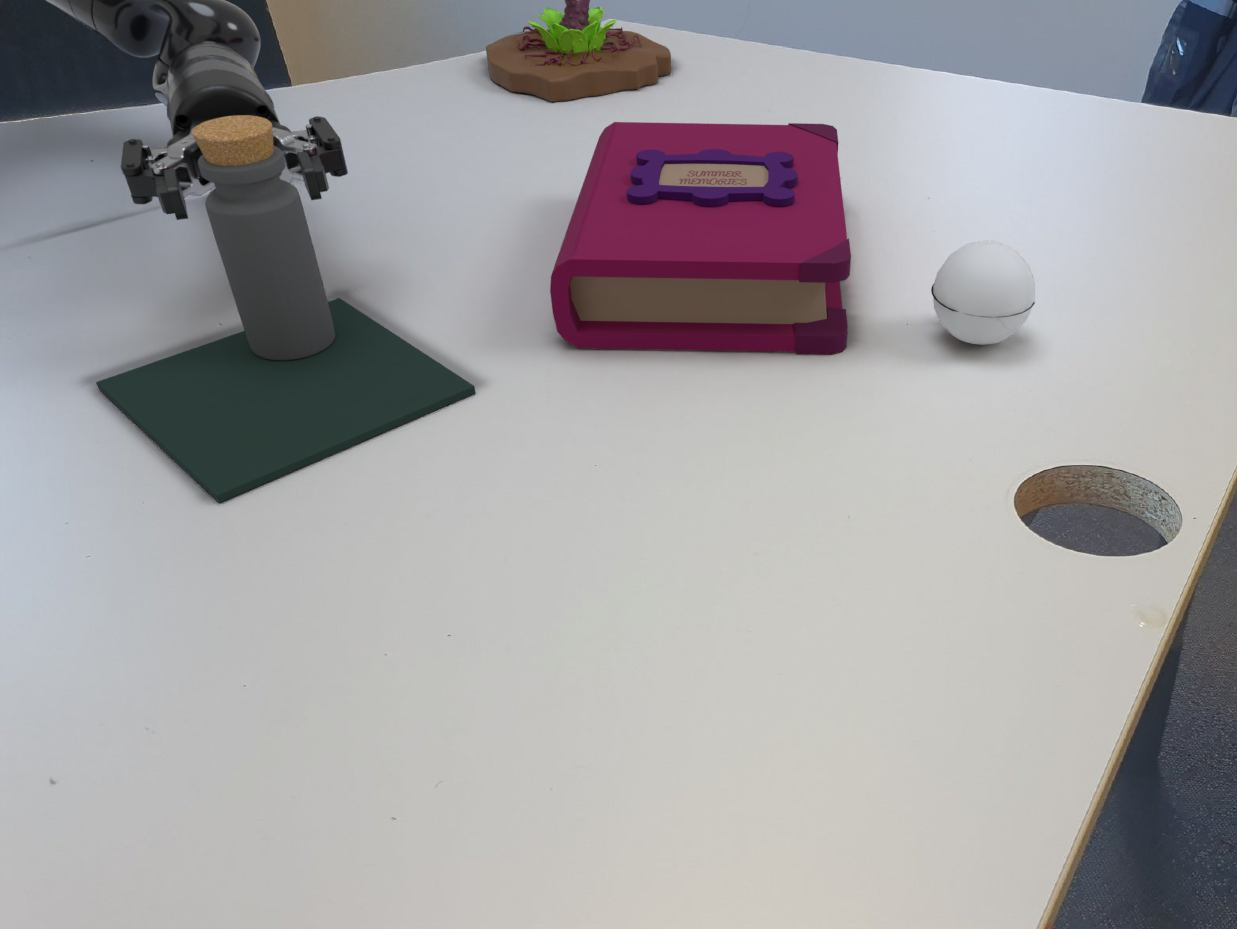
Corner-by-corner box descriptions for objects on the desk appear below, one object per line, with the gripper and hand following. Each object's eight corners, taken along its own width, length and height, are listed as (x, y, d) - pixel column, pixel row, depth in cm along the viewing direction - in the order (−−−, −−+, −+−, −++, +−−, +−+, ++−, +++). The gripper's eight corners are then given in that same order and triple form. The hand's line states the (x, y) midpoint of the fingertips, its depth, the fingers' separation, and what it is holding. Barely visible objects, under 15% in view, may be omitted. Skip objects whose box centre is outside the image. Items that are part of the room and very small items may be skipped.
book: (556, 350, 81) (544, 250, 76) (603, 198, 102) (595, 112, 97) (847, 355, 81) (854, 255, 76) (832, 202, 102) (837, 117, 97)
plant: (456, 67, 131) (440, -40, 124) (593, 38, 141) (586, -63, 134) (553, 111, 120) (541, -3, 113) (694, 76, 130) (692, -31, 123)
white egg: (922, 314, 86) (932, 221, 81) (1018, 317, 86) (1035, 224, 81) (933, 381, 78) (945, 283, 74) (1039, 384, 78) (1058, 286, 74)
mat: (219, 503, 66) (216, 495, 66) (98, 389, 76) (95, 381, 75) (476, 393, 76) (474, 385, 76) (341, 304, 86) (339, 297, 85)
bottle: (353, 332, 81) (300, 119, 71) (296, 368, 77) (232, 148, 67) (290, 315, 83) (231, 106, 73) (231, 350, 79) (160, 133, 69)
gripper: (332, 156, 91) (368, 232, 79) (139, 182, 86) (149, 266, 75) (308, 57, 86) (343, 124, 75) (103, 79, 81) (108, 153, 70)
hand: (246, 195), depth 75 cm, fingers open, 8 cm apart
